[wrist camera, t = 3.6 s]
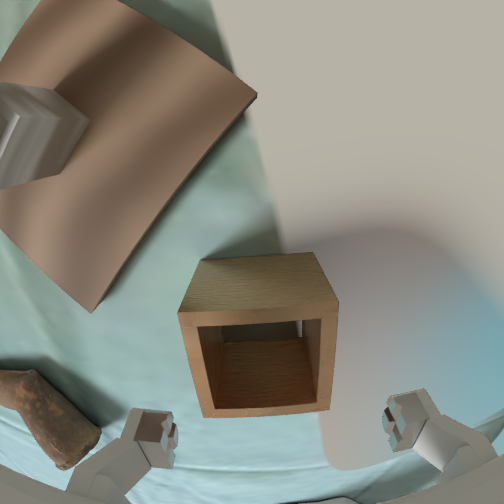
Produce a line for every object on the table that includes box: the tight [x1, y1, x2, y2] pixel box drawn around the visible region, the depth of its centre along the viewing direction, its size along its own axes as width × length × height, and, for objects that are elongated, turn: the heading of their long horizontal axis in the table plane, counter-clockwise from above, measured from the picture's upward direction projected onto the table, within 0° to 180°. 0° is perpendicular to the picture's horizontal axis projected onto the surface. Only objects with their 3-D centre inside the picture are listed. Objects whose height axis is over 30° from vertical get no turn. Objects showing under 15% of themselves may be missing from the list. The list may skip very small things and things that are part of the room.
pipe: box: [0, 369, 102, 470], centre depth 21 cm, size 6×17×10 cm
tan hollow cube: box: [177, 252, 339, 418], centre depth 16 cm, size 6×6×6 cm
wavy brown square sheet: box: [0, 0, 257, 313], centre depth 11 cm, size 16×16×8 cm
